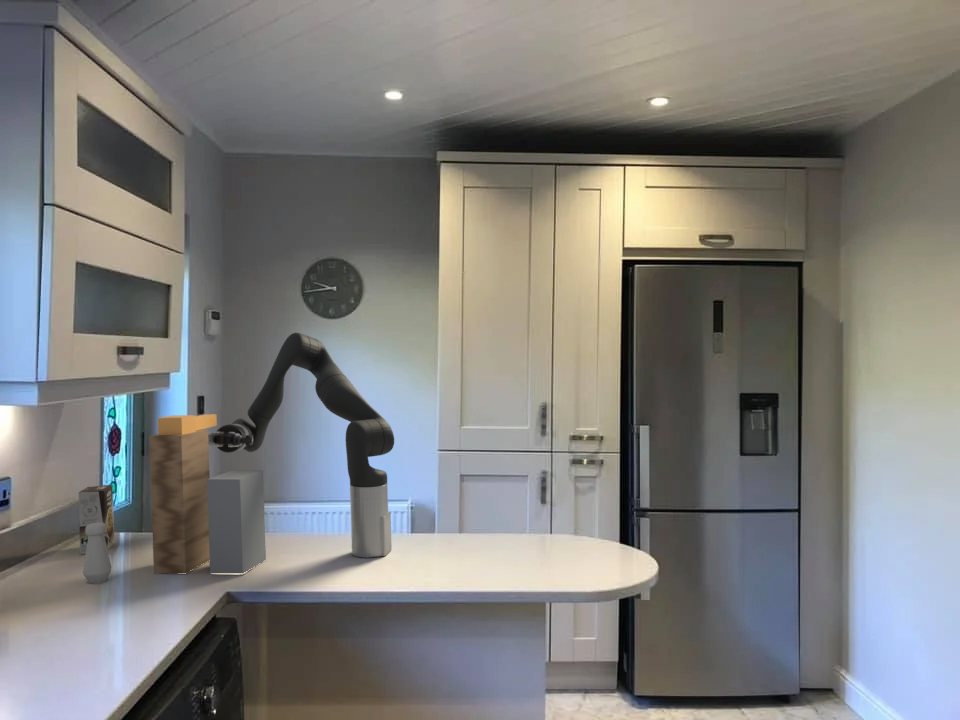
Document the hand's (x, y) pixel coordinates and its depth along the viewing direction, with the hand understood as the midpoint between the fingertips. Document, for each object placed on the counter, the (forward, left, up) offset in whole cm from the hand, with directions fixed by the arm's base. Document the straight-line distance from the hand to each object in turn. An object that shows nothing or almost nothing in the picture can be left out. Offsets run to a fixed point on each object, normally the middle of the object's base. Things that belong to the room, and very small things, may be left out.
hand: (217, 440), depth 186 cm
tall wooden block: (+4, +10, -29) cm, 31 cm away
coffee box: (+36, -3, -29) cm, 46 cm away
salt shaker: (+18, +22, -29) cm, 41 cm away
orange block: (+4, +5, +3) cm, 7 cm away
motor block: (-10, +10, -29) cm, 32 cm away
